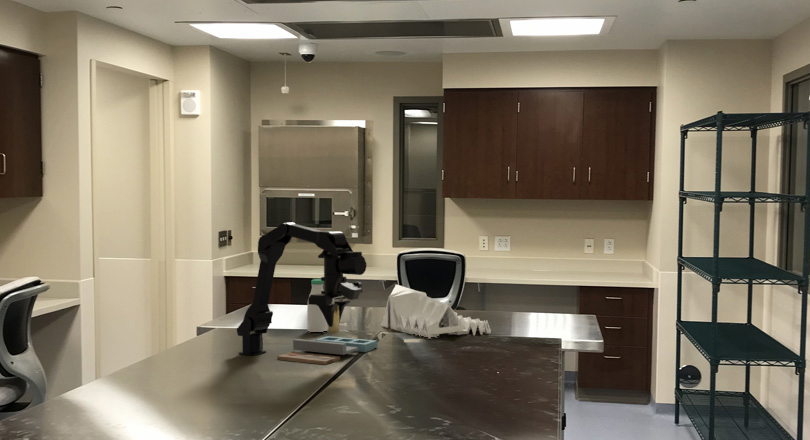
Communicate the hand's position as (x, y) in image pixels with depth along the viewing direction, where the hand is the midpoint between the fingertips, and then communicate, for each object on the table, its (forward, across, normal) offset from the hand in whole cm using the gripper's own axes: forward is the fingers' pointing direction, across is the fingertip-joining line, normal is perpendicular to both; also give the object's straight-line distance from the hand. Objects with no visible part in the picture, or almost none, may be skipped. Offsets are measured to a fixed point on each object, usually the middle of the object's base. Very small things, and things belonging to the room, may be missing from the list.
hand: (333, 325), depth 217 cm
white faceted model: (+13, +75, +2) cm, 76 cm away
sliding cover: (+10, +14, +12) cm, 21 cm away
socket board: (+12, +26, +12) cm, 31 cm away
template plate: (+12, +4, +12) cm, 17 cm away
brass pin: (+2, 0, 0) cm, 2 cm away
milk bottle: (+12, +49, +39) cm, 64 cm away
